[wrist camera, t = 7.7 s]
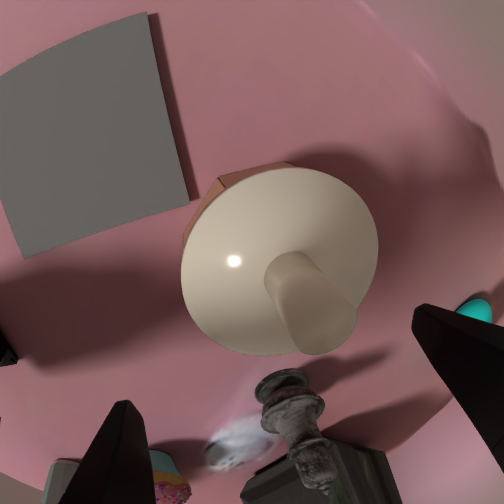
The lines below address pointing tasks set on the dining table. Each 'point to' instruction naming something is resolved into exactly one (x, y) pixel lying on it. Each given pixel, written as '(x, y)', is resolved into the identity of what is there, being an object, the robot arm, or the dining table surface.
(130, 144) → the mat
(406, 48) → the dining table surface
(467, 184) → the dining table surface
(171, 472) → the cupcake
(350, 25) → the dining table surface
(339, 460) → the bottle
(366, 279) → the lid
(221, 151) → the dining table surface
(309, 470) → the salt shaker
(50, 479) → the disposable coffee cup
